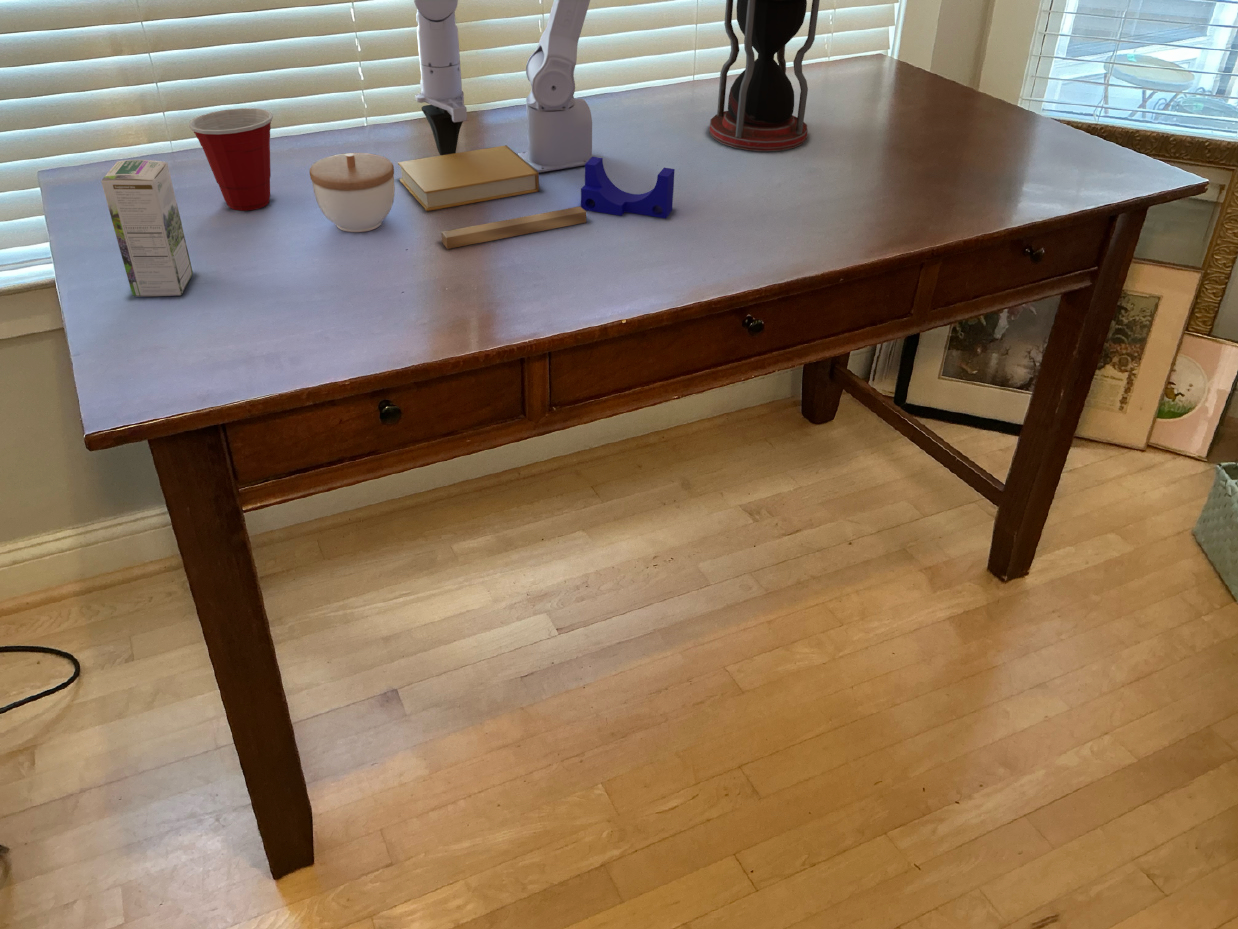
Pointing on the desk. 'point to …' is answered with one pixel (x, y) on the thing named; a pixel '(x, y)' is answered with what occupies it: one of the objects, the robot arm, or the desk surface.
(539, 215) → the rail
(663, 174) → the blue cradle bracket
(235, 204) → the plastic cup
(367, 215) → the trinket box
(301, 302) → the desk surface
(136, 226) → the syrup box
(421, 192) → the book
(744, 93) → the hourglass
